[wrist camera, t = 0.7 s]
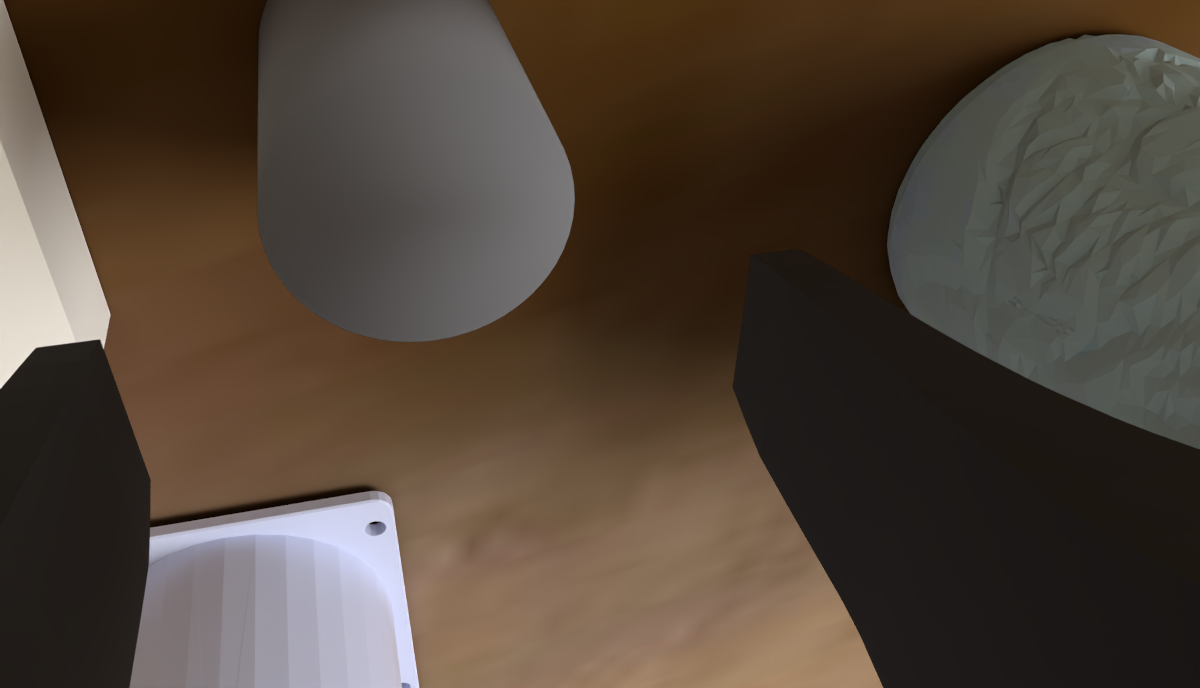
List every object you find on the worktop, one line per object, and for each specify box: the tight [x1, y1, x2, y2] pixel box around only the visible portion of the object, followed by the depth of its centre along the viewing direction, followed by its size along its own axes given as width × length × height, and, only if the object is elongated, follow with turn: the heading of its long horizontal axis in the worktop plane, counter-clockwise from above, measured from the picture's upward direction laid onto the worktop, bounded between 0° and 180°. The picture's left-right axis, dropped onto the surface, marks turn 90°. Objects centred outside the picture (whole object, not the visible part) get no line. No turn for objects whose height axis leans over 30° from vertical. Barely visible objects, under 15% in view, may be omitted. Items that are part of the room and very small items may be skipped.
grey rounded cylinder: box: [257, 0, 575, 342], centre depth 16 cm, size 4×4×6 cm
